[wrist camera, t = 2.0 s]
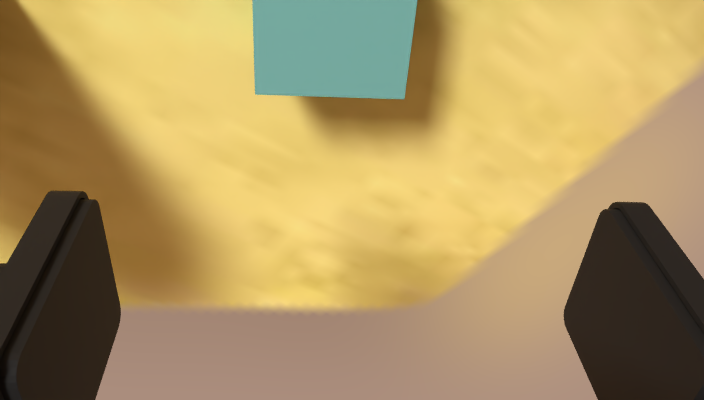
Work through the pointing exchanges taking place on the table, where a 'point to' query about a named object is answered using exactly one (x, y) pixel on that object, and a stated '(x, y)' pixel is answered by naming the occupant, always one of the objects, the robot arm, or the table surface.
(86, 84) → the table surface
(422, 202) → the table surface
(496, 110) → the table surface
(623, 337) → the robot arm
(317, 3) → the teal block
